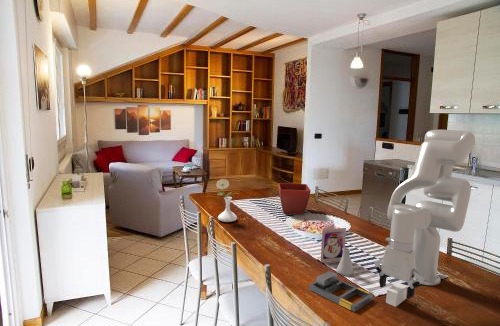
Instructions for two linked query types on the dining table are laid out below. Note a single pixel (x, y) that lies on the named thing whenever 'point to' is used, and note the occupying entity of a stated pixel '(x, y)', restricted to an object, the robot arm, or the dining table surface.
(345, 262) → the flask
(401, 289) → the white block
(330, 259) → the greeting card
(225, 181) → the flower in vase
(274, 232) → the dining table surface
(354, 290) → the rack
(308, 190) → the plant pot
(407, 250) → the robot arm
